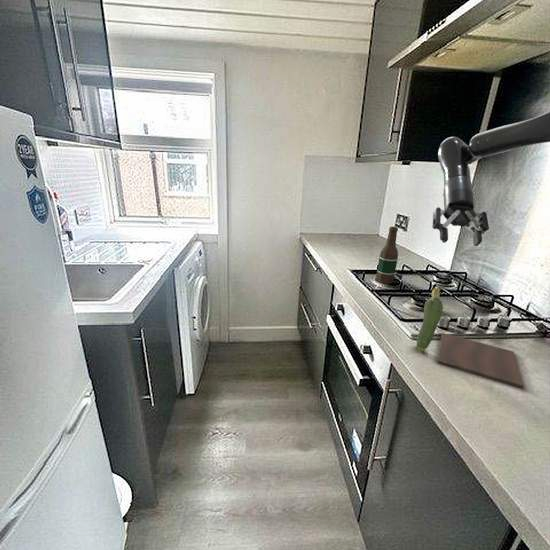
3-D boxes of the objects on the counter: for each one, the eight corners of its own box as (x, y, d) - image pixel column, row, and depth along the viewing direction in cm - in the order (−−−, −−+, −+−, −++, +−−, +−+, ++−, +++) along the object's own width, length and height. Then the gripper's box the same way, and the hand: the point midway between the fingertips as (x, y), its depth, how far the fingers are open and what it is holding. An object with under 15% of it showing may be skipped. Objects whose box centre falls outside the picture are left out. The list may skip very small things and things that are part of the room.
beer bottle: (371, 280, 133) (380, 226, 124) (380, 276, 138) (389, 224, 129) (388, 285, 128) (398, 230, 119) (397, 281, 133) (407, 227, 124)
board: (513, 353, 84) (513, 351, 84) (522, 388, 71) (523, 385, 71) (441, 334, 92) (441, 332, 92) (438, 362, 80) (438, 360, 79)
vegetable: (419, 344, 87) (434, 280, 80) (434, 351, 84) (451, 285, 77) (411, 349, 85) (426, 284, 78) (427, 357, 82) (444, 289, 74)
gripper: (438, 185, 88) (440, 234, 82) (490, 189, 86) (496, 239, 81) (428, 200, 95) (429, 246, 89) (476, 204, 93) (480, 251, 88)
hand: (461, 243), depth 85 cm, fingers open, 8 cm apart
